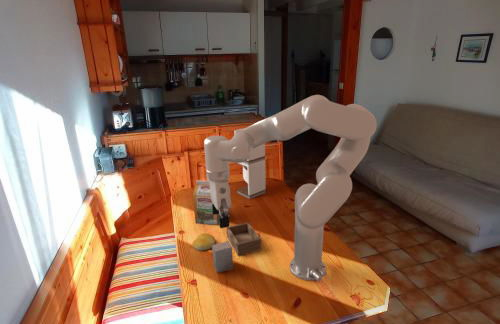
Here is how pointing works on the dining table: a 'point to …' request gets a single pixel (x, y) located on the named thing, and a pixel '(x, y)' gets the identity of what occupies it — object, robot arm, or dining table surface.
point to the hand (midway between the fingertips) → (220, 220)
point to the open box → (243, 238)
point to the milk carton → (204, 204)
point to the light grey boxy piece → (254, 172)
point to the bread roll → (204, 241)
